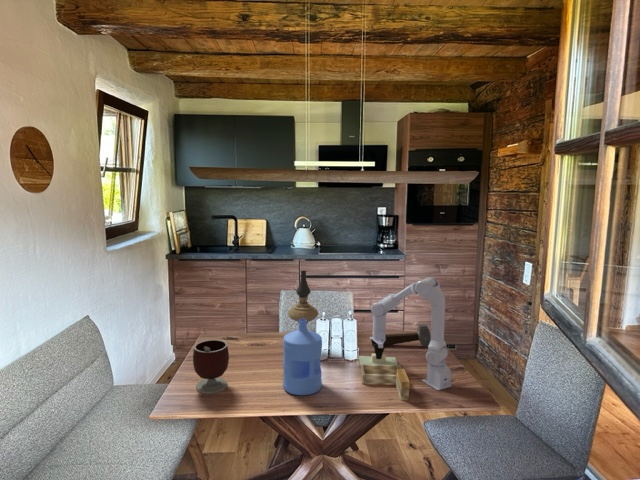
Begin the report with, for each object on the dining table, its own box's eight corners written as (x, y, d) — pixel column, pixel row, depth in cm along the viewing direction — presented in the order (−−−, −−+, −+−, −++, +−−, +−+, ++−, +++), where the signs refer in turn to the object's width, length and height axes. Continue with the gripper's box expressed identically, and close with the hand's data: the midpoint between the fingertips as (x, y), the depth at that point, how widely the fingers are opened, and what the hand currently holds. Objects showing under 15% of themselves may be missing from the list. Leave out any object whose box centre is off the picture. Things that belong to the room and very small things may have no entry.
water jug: (275, 384, 166) (275, 318, 163) (306, 374, 176) (307, 311, 172) (297, 400, 154) (297, 329, 150) (329, 388, 164) (330, 321, 160)
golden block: (404, 374, 165) (404, 369, 165) (409, 388, 154) (409, 382, 154) (396, 374, 165) (396, 368, 165) (401, 388, 154) (401, 381, 154)
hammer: (373, 354, 207) (431, 347, 207) (370, 333, 206) (429, 326, 205) (371, 350, 212) (429, 343, 212) (369, 329, 210) (427, 323, 210)
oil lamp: (283, 347, 205) (283, 269, 200) (310, 342, 211) (311, 267, 206) (294, 358, 191) (294, 275, 186) (322, 353, 198) (324, 273, 192)
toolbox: (399, 374, 177) (400, 362, 177) (409, 400, 155) (410, 387, 155) (360, 373, 178) (361, 361, 177) (365, 399, 156) (365, 386, 155)
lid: (394, 361, 190) (395, 351, 190) (398, 370, 180) (399, 360, 180) (358, 359, 190) (359, 349, 190) (360, 369, 181) (360, 358, 180)
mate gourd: (199, 377, 171) (198, 332, 169) (232, 378, 171) (231, 332, 169) (187, 396, 156) (186, 346, 153) (223, 397, 156) (222, 347, 153)
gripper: (368, 322, 190) (367, 350, 192) (372, 334, 176) (371, 363, 178) (383, 323, 190) (382, 350, 192) (388, 334, 176) (387, 364, 178)
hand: (378, 357), depth 185 cm, fingers closed on lid, 3 cm apart
